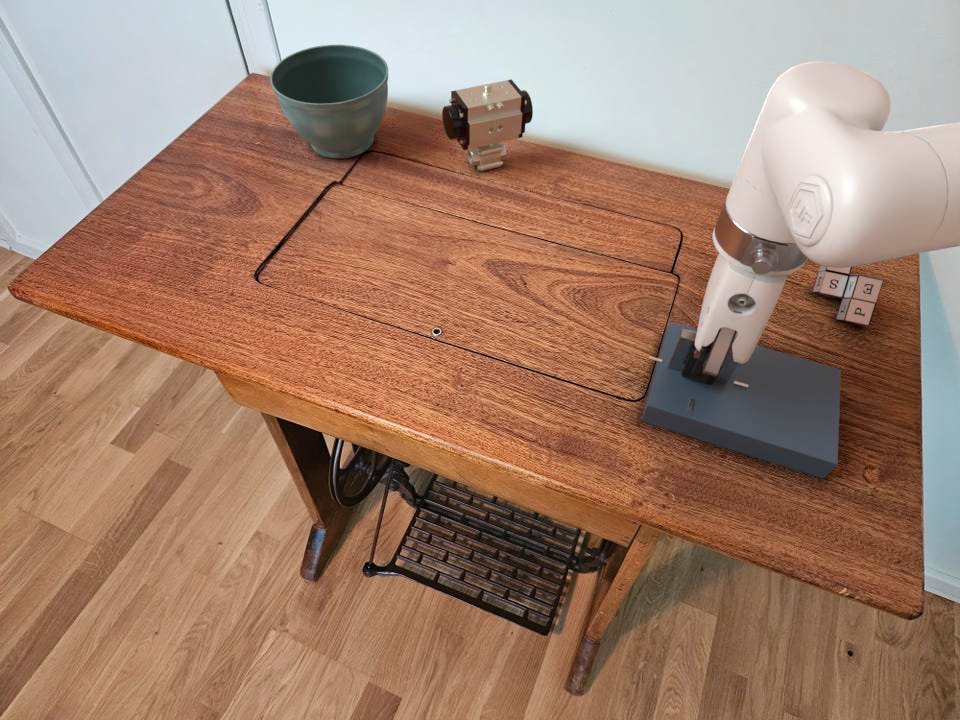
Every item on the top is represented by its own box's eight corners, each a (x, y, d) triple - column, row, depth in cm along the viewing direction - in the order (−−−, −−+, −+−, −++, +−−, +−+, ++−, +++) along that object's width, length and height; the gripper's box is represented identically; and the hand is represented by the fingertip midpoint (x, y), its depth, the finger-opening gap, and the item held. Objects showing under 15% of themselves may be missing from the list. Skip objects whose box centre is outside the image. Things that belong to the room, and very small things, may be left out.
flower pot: (327, 188, 87) (311, 117, 79) (267, 139, 94) (247, 69, 86) (417, 144, 94) (411, 74, 85) (355, 102, 101) (344, 33, 93)
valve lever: (667, 367, 64) (681, 335, 60) (669, 359, 65) (683, 326, 61) (726, 385, 63) (743, 353, 59) (727, 376, 64) (745, 344, 60)
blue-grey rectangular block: (828, 385, 67) (842, 368, 65) (823, 479, 60) (838, 463, 58) (653, 335, 71) (660, 317, 69) (630, 417, 64) (636, 400, 62)
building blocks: (851, 324, 75) (871, 258, 74) (869, 325, 70) (891, 255, 69) (805, 314, 76) (824, 249, 75) (819, 315, 71) (840, 245, 70)
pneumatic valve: (443, 163, 91) (440, 84, 82) (516, 147, 94) (521, 69, 84) (456, 185, 88) (455, 106, 78) (531, 167, 91) (538, 89, 81)
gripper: (809, 311, 44) (725, 443, 58) (820, 184, 53) (744, 325, 68) (703, 283, 45) (646, 418, 60) (730, 164, 55) (676, 306, 69)
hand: (699, 368), depth 64 cm, fingers closed
